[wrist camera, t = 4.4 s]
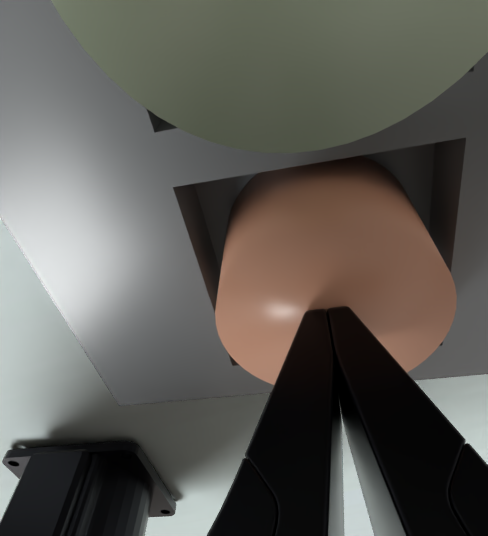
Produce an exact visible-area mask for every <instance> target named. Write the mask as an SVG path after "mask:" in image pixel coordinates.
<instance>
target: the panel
mask: <svg viewBox="0 0 488 536" xmlns="http://www.w3.org/2000/svg"><path fill="white" fill-rule="evenodd" d="M360 155H362V156H365V157H367V158H369V159H372V160H374V161H375V162H377V163H379V164H380V165H382V166H383V167H385V168H386V169H387V170H388V171H390V172H391V173H392V174H393V175H394V176H395V177H396V178H397V180H398V181H399V182H400V183H401V185H402V186H403V188H404V190H405V191H406V193H407V195H408V197H409V199H410V200H411V202H412V204H413V206H414V208H415V209H416V211H417V213H418V215H419V217H420V218H421V220H422V222H423V224H424V226H425V228H426V229H427V231H428V233H429V235H430V237H431V238H432V240H433V242H434V244H435V246H436V247H437V249H438V251H439V253H440V255H441V257H442V258H443V260H444V262H445V264H446V266H447V267H448V269H449V271H450V273H451V276H452V278H453V281H454V284H455V289H456V295H457V301H456V311H455V316H454V320H453V322H452V325H451V327H450V330H449V332H448V333H447V335H446V337H445V338H444V340H443V341H442V343H441V344H440V345H439V346H438V348H437V349H436V350H435V351H434V352H433V353H432V354H431V355H430V356H429V357H428V358H427V359H426V360H425V361H423V362H422V363H421V364H419V365H418V366H417V367H415V368H414V369H412V370H410V371H409V372H407V374H408V375H409V376H410V377H411V378H412V379H413V380H423V379H435V378H446V377H458V376H469V375H481V374H488V52H487V53H486V54H485V55H484V56H483V57H482V58H481V59H480V60H479V61H478V62H477V63H476V64H475V65H474V66H473V67H472V68H471V69H470V70H469V71H468V72H467V73H466V74H465V75H464V76H463V77H462V78H461V79H459V80H458V81H457V82H456V83H454V84H453V85H452V86H450V87H449V88H448V89H447V90H445V91H444V92H443V93H442V94H440V95H439V96H438V97H437V98H435V99H434V100H433V101H432V102H430V103H428V104H427V105H425V106H424V107H422V108H421V109H419V110H418V111H416V112H414V113H413V114H411V115H410V116H408V117H407V118H405V119H403V120H401V121H399V122H397V123H395V124H393V125H391V126H389V127H387V128H385V129H383V130H381V131H379V132H377V133H375V134H372V135H370V136H367V137H364V138H361V139H359V140H356V141H353V142H350V143H348V144H343V145H339V146H335V147H331V148H327V149H322V150H316V151H307V152H298V153H262V152H254V151H247V150H240V149H235V148H231V147H228V146H224V145H220V144H216V143H213V142H209V141H207V140H205V139H202V138H200V137H197V136H195V135H192V134H190V133H187V132H185V131H183V130H181V129H179V128H177V127H176V126H174V125H172V124H170V123H168V122H167V121H165V120H163V119H161V118H159V117H158V116H156V115H155V114H154V113H152V112H151V111H149V110H148V109H147V108H145V107H144V106H142V105H141V104H140V103H138V102H137V101H135V100H134V99H133V98H132V97H130V96H129V95H128V94H127V93H126V92H125V91H124V90H123V89H122V88H120V87H119V86H118V85H117V84H116V83H115V82H114V81H113V80H112V79H111V78H109V77H108V76H107V75H106V73H105V72H104V71H103V70H102V69H101V68H100V67H99V66H98V64H97V63H96V62H95V61H94V60H93V59H92V58H91V57H90V55H89V54H88V53H87V52H86V51H85V50H84V49H83V47H82V46H81V44H80V43H79V42H78V40H77V39H76V38H75V36H74V35H73V33H72V32H71V31H70V29H69V28H68V26H67V25H66V24H65V22H64V21H63V20H62V18H61V16H60V15H59V13H58V11H57V10H56V8H55V6H54V4H53V3H52V1H51V0H0V218H1V220H2V221H3V223H4V224H5V226H6V228H7V229H8V231H9V232H10V234H11V236H12V237H13V239H14V240H15V242H16V243H17V245H18V247H19V248H20V250H21V251H22V253H23V255H24V256H25V258H26V259H27V261H28V262H29V264H30V266H31V267H32V269H33V270H34V272H35V274H36V275H37V277H38V278H39V280H40V281H41V283H42V285H43V286H44V288H45V289H46V291H47V293H48V294H49V296H50V297H51V299H52V300H53V302H54V304H55V305H56V307H57V308H58V310H59V312H60V313H61V315H62V316H63V318H64V319H65V321H66V323H67V324H68V326H69V327H70V329H71V331H72V332H73V334H74V335H75V337H76V338H77V340H78V342H79V343H80V345H81V346H82V348H83V350H84V351H85V353H86V354H87V356H88V357H89V359H90V361H91V362H92V364H93V365H94V367H95V369H96V370H97V372H98V373H99V375H100V377H101V378H102V380H103V381H104V383H105V384H106V386H107V388H108V389H109V391H110V392H111V394H112V396H113V397H114V399H115V400H116V402H117V403H118V405H119V406H125V405H136V404H147V403H159V402H170V401H182V400H193V399H205V398H216V397H228V396H239V395H251V394H262V393H271V391H272V389H273V387H274V385H273V384H270V383H268V382H265V381H263V380H261V379H259V378H257V377H256V376H254V375H252V374H251V373H249V372H248V371H246V370H245V369H244V368H242V367H241V366H240V365H239V364H238V363H237V362H236V361H235V360H234V359H233V358H232V357H231V356H230V354H229V353H228V352H227V350H226V349H225V347H224V346H223V344H222V342H221V339H220V337H219V335H218V331H217V327H216V319H215V310H216V301H217V294H218V287H219V280H220V273H221V266H222V259H223V252H224V245H225V238H226V231H227V224H228V219H229V215H230V212H231V209H232V207H233V204H234V202H235V200H236V198H237V197H238V195H239V194H240V192H241V190H242V189H243V188H244V187H245V186H246V185H247V183H248V182H249V181H250V180H251V179H252V178H253V177H255V176H256V175H257V174H258V173H260V172H266V171H272V170H278V169H284V168H289V167H295V166H301V165H307V164H313V163H319V162H325V161H331V160H337V159H343V158H348V157H354V156H360Z"/></svg>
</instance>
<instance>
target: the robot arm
mask: <svg viewBox="0 0 488 536" xmlns="http://www.w3.org/2000/svg"><path fill="white" fill-rule="evenodd" d="M340 408H341V411H340ZM341 414H342V419H343V423H344V427H345V431H346V435H347V439H348V442H349V446H350V449H351V453H352V457H353V460H354V464H355V467H356V471H357V475H358V478H359V482H360V485H361V489H362V493H363V496H364V500H365V503H366V507H367V511H368V514H369V518H370V521H371V525H372V529H373V532H374V536H488V465H487V464H486V462H485V461H484V460H483V459H482V458H481V457H480V456H479V454H478V453H477V452H476V451H475V450H474V449H473V448H472V446H471V445H470V444H465V442H466V441H465V439H464V438H463V436H462V435H461V434H460V433H459V432H458V431H457V430H456V428H455V427H454V426H453V425H452V424H451V423H450V422H449V420H448V419H447V418H446V417H445V416H444V415H443V414H442V412H441V411H440V410H439V409H438V408H437V407H436V406H435V404H434V403H433V402H432V401H431V400H430V399H429V398H428V396H427V395H426V394H425V393H424V392H423V391H422V390H421V388H420V387H419V386H418V385H417V384H416V383H415V382H414V380H413V379H412V378H411V377H410V376H409V375H408V374H407V372H406V371H405V370H404V369H403V368H402V367H401V366H400V364H399V363H398V362H397V361H396V360H395V359H394V358H393V356H392V355H391V354H390V353H389V352H388V351H387V350H386V348H385V347H384V346H383V345H382V344H381V343H380V342H379V340H378V339H377V338H376V337H375V336H374V335H373V334H372V332H371V331H370V330H369V329H368V328H367V327H366V326H365V324H364V323H363V322H362V321H361V320H360V319H359V318H358V316H357V315H356V314H355V313H354V312H353V311H352V310H351V308H349V307H348V306H341V307H332V308H329V309H328V310H327V311H326V310H325V309H315V310H308V311H306V312H305V313H304V315H303V317H302V320H301V322H300V325H299V327H298V329H297V332H296V334H295V336H294V339H293V341H292V344H291V346H290V348H289V351H288V353H287V356H286V358H285V360H284V363H283V365H282V367H281V370H280V372H279V375H278V377H277V379H276V382H275V384H274V387H273V389H272V391H271V394H270V396H269V398H268V401H267V403H266V406H265V408H264V410H263V413H262V415H261V418H260V420H259V422H258V425H257V427H256V429H255V432H254V434H253V437H252V439H251V441H250V444H249V446H248V449H247V451H246V453H245V456H246V458H244V459H243V460H242V462H241V465H240V467H239V469H238V472H237V474H236V477H235V479H234V481H233V483H232V486H231V488H230V490H229V492H228V494H227V497H226V499H225V501H224V503H223V505H222V507H221V510H220V512H219V513H218V515H217V517H216V519H215V521H214V523H213V525H212V527H211V529H210V530H209V532H208V534H207V536H344V500H343V453H342V421H341ZM2 462H3V464H4V465H5V466H6V467H7V468H8V469H9V470H10V471H12V472H13V473H14V474H15V475H16V476H17V477H18V478H19V479H20V480H19V482H18V484H17V486H16V489H15V491H14V493H13V495H12V497H11V499H10V502H9V504H8V506H7V508H6V510H5V512H4V515H3V517H2V519H1V521H0V536H145V531H146V526H147V521H148V517H162V516H172V515H174V514H175V510H176V503H175V501H174V499H173V498H172V496H171V495H170V493H169V492H168V490H167V489H166V487H165V486H164V484H163V482H162V481H161V479H160V478H159V476H158V475H157V473H156V472H155V470H154V468H153V467H152V465H151V464H150V462H149V461H148V459H147V458H146V456H145V455H144V453H143V451H142V450H141V448H140V447H139V446H138V445H137V444H135V443H133V442H129V441H122V442H108V443H94V444H80V445H67V446H53V447H39V448H26V449H12V450H8V451H7V453H6V454H5V456H4V458H3V461H2Z"/></svg>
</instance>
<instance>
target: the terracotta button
mask: <svg viewBox="0 0 488 536" xmlns="http://www.w3.org/2000/svg"><path fill="white" fill-rule="evenodd" d="M456 301H457V295H456V289H455V284H454V281H453V278H452V276H451V273H450V271H449V269H448V267H447V266H446V264H445V262H444V260H443V258H442V257H441V255H440V253H439V251H438V249H437V247H436V246H435V244H434V242H433V240H432V238H431V237H430V235H429V233H428V231H427V229H426V228H425V226H424V224H423V222H422V220H421V218H420V217H419V215H418V213H417V211H416V209H415V208H414V206H413V204H412V202H411V200H410V199H409V197H408V195H407V193H406V191H405V190H404V188H403V186H402V185H401V183H400V182H399V181H398V180H397V178H396V177H395V176H394V175H393V174H392V173H391V172H390V171H388V170H387V169H386V168H385V167H383V166H382V165H380V164H379V163H377V162H375V161H374V160H372V159H369V158H367V157H365V156H362V155H360V156H354V157H348V158H343V159H337V160H331V161H325V162H319V163H313V164H307V165H301V166H295V167H289V168H284V169H278V170H272V171H266V172H260V173H258V174H257V175H256V176H255V177H253V178H252V179H251V180H250V181H249V182H248V183H247V185H246V186H245V187H244V188H243V189H242V190H241V192H240V194H239V195H238V197H237V198H236V200H235V202H234V204H233V207H232V209H231V212H230V215H229V219H228V224H227V231H226V238H225V245H224V252H223V259H222V266H221V273H220V280H219V287H218V294H217V301H216V310H215V319H216V327H217V331H218V335H219V337H220V339H221V342H222V344H223V346H224V347H225V349H226V350H227V352H228V353H229V354H230V356H231V357H232V358H233V359H234V360H235V361H236V362H237V363H238V364H239V365H240V366H241V367H242V368H244V369H245V370H246V371H248V372H249V373H251V374H252V375H254V376H256V377H257V378H259V379H261V380H263V381H265V382H268V383H270V384H273V385H274V384H275V382H276V379H277V377H278V375H279V372H280V370H281V367H282V365H283V363H284V360H285V358H286V356H287V353H288V351H289V348H290V346H291V344H292V341H293V339H294V336H295V334H296V332H297V329H298V327H299V325H300V322H301V320H302V317H303V315H304V313H305V312H306V311H308V310H315V309H325V310H326V311H327V310H328V309H329V308H332V307H341V306H348V307H349V308H351V310H352V311H353V312H354V313H355V314H356V315H357V316H358V318H359V319H360V320H361V321H362V322H363V323H364V324H365V326H366V327H367V328H368V329H369V330H370V331H371V332H372V334H373V335H374V336H375V337H376V338H377V339H378V340H379V342H380V343H381V344H382V345H383V346H384V347H385V348H386V350H387V351H388V352H389V353H390V354H391V355H392V356H393V358H394V359H395V360H396V361H397V362H398V363H399V364H400V366H401V367H402V368H403V369H404V370H405V371H406V372H409V371H410V370H412V369H414V368H415V367H417V366H418V365H419V364H421V363H422V362H423V361H425V360H426V359H427V358H428V357H429V356H430V355H431V354H432V353H433V352H434V351H435V350H436V349H437V348H438V346H439V345H440V344H441V343H442V341H443V340H444V338H445V337H446V335H447V333H448V332H449V330H450V327H451V325H452V322H453V320H454V316H455V311H456Z"/></svg>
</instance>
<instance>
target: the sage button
mask: <svg viewBox="0 0 488 536" xmlns="http://www.w3.org/2000/svg"><path fill="white" fill-rule="evenodd" d="M51 1H52V3H53V4H54V6H55V8H56V10H57V11H58V13H59V15H60V16H61V18H62V20H63V21H64V22H65V24H66V25H67V26H68V28H69V29H70V31H71V32H72V33H73V35H74V36H75V38H76V39H77V40H78V42H79V43H80V44H81V46H82V47H83V49H84V50H85V51H86V52H87V53H88V54H89V55H90V57H91V58H92V59H93V60H94V61H95V62H96V63H97V64H98V66H99V67H100V68H101V69H102V70H103V71H104V72H105V73H106V75H107V76H108V77H109V78H111V79H112V80H113V81H114V82H115V83H116V84H117V85H118V86H119V87H120V88H122V89H123V90H124V91H125V92H126V93H127V94H128V95H129V96H130V97H132V98H133V99H134V100H135V101H137V102H138V103H140V104H141V105H142V106H144V107H145V108H147V109H148V110H149V111H151V112H152V113H154V114H155V115H156V116H158V117H159V118H161V119H163V120H165V121H167V122H168V123H170V124H172V125H174V126H176V127H177V128H179V129H181V130H183V131H185V132H187V133H190V134H192V135H195V136H197V137H200V138H202V139H205V140H207V141H209V142H213V143H216V144H220V145H224V146H228V147H231V148H235V149H240V150H247V151H254V152H262V153H298V152H307V151H316V150H322V149H327V148H331V147H335V146H339V145H343V144H348V143H350V142H353V141H356V140H359V139H361V138H364V137H367V136H370V135H372V134H375V133H377V132H379V131H381V130H383V129H385V128H387V127H389V126H391V125H393V124H395V123H397V122H399V121H401V120H403V119H405V118H407V117H408V116H410V115H411V114H413V113H414V112H416V111H418V110H419V109H421V108H422V107H424V106H425V105H427V104H428V103H430V102H432V101H433V100H434V99H435V98H437V97H438V96H439V95H440V94H442V93H443V92H444V91H445V90H447V89H448V88H449V87H450V86H452V85H453V84H454V83H456V82H457V81H458V80H459V79H461V78H462V77H463V76H464V75H465V74H466V73H467V72H468V71H469V70H470V69H471V68H472V67H473V66H474V65H475V64H476V63H477V62H478V61H479V60H480V59H481V58H482V57H483V56H484V55H485V54H486V53H487V52H488V0H51Z"/></svg>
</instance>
